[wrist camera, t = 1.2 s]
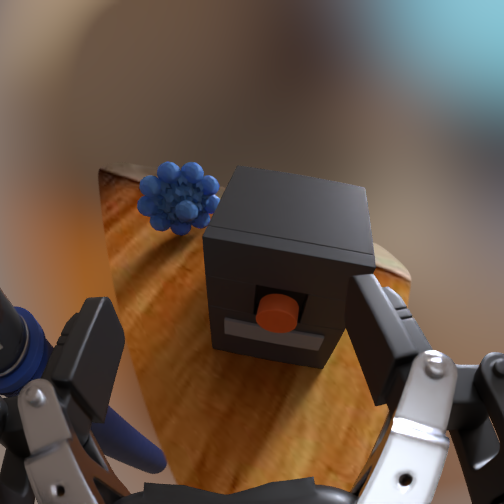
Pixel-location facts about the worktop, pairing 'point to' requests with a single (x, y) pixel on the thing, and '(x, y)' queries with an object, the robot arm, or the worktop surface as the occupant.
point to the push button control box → (284, 261)
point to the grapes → (178, 198)
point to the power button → (277, 313)
